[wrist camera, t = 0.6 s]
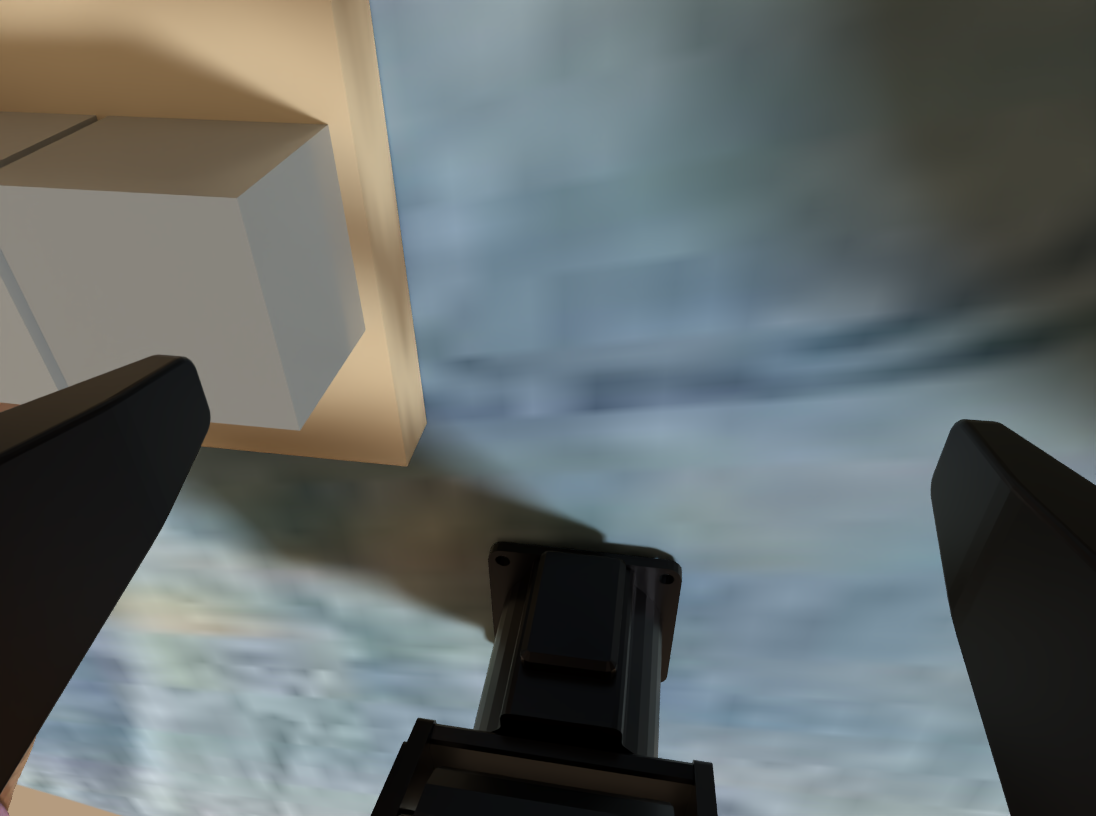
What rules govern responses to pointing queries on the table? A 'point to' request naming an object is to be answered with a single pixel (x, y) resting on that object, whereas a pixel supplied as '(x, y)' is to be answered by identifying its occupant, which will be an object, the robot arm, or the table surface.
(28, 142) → the light grey block
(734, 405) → the table surface
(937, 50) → the table surface
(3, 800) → the cupcake
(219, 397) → the grey square block
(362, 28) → the bench board
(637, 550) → the table surface
